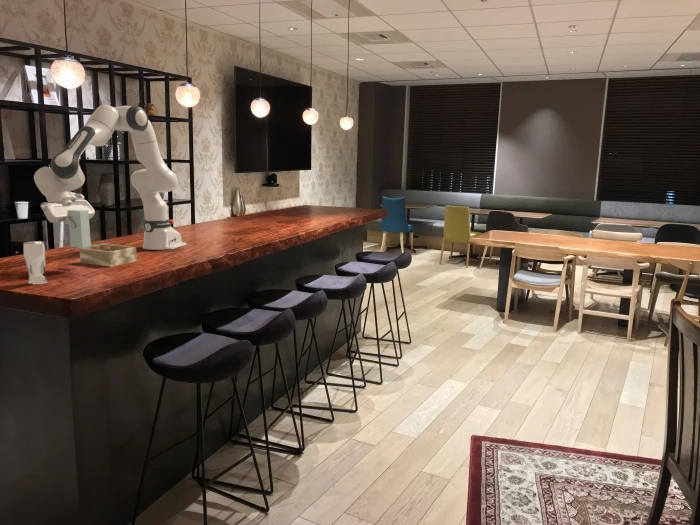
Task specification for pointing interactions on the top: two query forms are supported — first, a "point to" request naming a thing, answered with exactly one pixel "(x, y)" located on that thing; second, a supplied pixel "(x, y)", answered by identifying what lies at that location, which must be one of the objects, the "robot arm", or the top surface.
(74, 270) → the top surface
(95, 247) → the offcut short
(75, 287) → the top surface
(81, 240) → the pale green block
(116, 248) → the tray
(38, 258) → the beer glass
